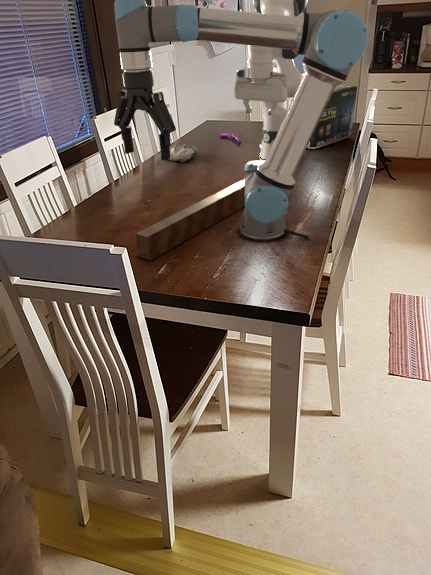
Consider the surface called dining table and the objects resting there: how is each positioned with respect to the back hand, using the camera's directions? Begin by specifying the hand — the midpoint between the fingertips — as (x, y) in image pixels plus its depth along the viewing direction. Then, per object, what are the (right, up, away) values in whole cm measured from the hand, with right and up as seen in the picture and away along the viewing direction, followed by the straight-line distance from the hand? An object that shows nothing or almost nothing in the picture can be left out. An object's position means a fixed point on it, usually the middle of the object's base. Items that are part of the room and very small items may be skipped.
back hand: (259, 113), depth 165 cm
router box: (+43, +14, +79) cm, 91 cm away
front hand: (-35, -27, -40) cm, 59 cm away
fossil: (-35, +2, +64) cm, 73 cm away
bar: (-16, -39, -5) cm, 42 cm away
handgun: (-7, +21, +93) cm, 96 cm away
